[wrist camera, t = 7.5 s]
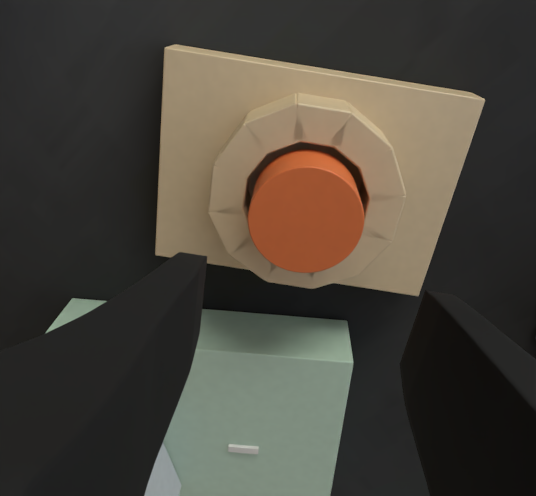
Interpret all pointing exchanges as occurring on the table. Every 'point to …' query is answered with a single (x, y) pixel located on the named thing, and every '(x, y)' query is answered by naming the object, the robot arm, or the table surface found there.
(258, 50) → the table surface
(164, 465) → the tap handle
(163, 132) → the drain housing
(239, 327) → the block
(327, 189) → the button
